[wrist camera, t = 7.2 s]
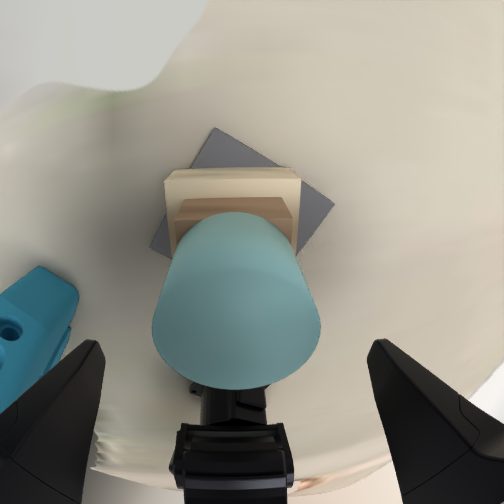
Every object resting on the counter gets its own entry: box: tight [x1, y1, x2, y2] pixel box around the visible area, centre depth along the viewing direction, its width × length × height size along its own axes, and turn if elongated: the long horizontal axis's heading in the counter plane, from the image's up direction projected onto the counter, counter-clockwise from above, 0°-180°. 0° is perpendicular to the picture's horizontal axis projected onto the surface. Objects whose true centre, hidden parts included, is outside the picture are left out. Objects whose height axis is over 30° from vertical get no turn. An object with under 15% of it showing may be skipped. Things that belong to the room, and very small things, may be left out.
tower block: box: [174, 197, 293, 245], centre depth 14 cm, size 5×5×3 cm
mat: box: [149, 128, 335, 259], centre depth 19 cm, size 9×9×1 cm
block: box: [0, 266, 79, 413], centre depth 13 cm, size 12×5×20 cm, turn 146°
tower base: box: [164, 167, 301, 259], centre depth 17 cm, size 7×7×3 cm
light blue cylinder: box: [152, 212, 321, 390], centre depth 11 cm, size 6×6×4 cm
